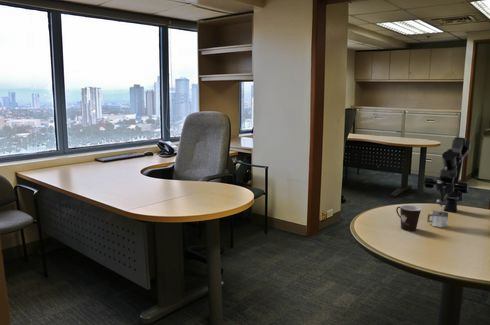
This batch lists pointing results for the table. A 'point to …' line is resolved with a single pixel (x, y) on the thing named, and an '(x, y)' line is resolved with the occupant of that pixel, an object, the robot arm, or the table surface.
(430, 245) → the table surface
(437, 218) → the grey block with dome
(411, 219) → the coffee mug
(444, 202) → the plunger
